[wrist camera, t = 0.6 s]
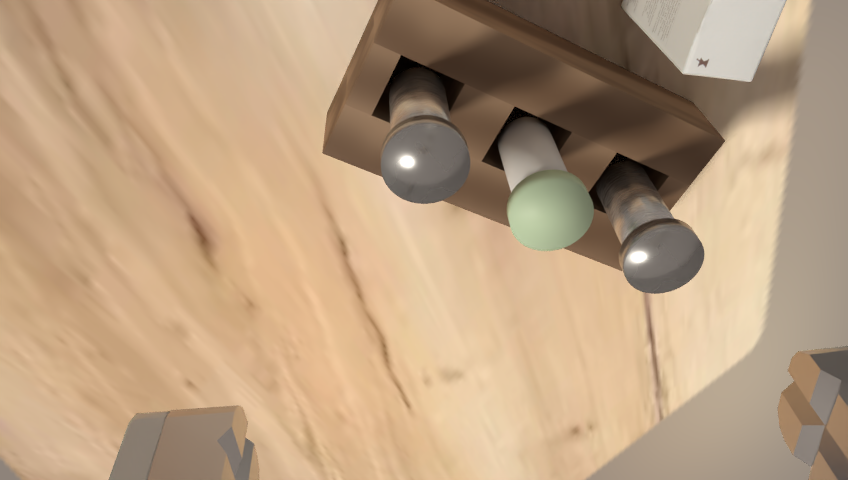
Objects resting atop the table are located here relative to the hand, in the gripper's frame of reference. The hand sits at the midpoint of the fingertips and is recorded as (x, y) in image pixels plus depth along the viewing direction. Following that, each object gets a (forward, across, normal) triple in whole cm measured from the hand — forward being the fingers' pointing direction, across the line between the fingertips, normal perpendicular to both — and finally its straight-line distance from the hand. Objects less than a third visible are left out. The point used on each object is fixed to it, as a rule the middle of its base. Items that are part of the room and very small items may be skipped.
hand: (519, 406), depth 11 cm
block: (+42, -7, +14) cm, 44 cm away
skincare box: (+42, -17, +5) cm, 45 cm away
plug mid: (+36, -7, +14) cm, 40 cm away
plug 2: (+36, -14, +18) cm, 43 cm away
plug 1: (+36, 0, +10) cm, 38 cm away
